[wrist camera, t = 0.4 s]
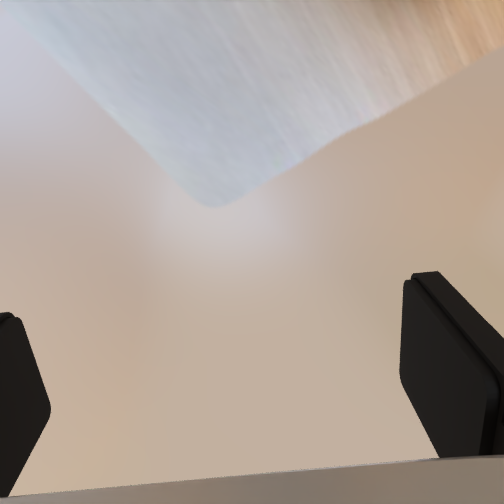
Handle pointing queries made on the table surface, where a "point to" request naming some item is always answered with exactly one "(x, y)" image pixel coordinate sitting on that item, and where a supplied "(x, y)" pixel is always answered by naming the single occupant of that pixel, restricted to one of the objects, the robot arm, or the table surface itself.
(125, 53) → the table surface
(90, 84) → the table surface
